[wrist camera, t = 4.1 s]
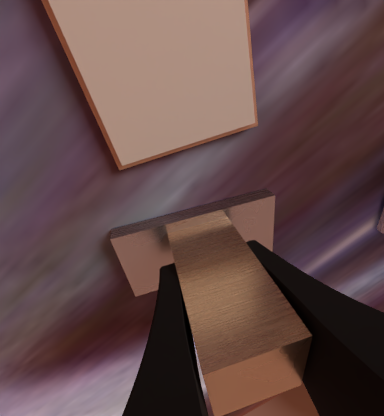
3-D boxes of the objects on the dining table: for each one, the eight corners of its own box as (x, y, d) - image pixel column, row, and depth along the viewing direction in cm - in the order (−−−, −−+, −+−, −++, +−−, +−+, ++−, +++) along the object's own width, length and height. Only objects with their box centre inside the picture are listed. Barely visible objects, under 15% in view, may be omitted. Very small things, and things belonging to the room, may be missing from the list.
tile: (247, 121, 10) (260, 126, 9) (120, 162, 10) (119, 172, 9) (226, -74, 7) (242, -99, 6) (37, -25, 7) (20, -43, 6)
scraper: (265, 246, 14) (362, 366, 8) (135, 285, 13) (140, 453, 7) (266, 188, 12) (399, 295, 6) (111, 229, 11) (91, 404, 5)
